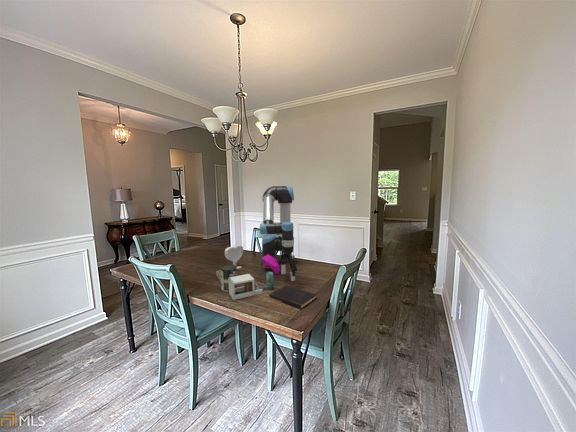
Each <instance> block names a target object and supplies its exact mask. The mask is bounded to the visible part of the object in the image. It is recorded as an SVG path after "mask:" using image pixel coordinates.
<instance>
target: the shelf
mask: <svg viewBox="0 0 576 432" xmlns="http://www.w3.org/2000/svg"><path fill="white" fill-rule="evenodd" d="M228 281H229V292H228V294H229V295H230V297H231V299H232V300H233V301H235V300H239V299H243V298H244V299H245V298H248V297H252V296H257V295H261V294H262V295H263V294H264V293H263V291H264V290H263V289H259V290H255V285H254V282H255V278H254V277H253V276H252V275H251V274H250V273H247V274H241V275H238V276H234V277H229V278H228ZM251 281H252V290H253V291H250V292H244V285H243V286H237V287H238V288H234V285H235V284H237V285H239V284H244V283H245V282H251ZM257 288H259V287H258V286H257ZM236 293H237V294H236Z"/></svg>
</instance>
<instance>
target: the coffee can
mask: <svg viewBox="0 0 576 432" xmlns="http://www.w3.org/2000/svg"><path fill="white" fill-rule="evenodd" d="M237 266H238V265H237V264H236V265H233V264H225V265H222V266H221V267H220V268H219V269H220V270H221V275H220V276H221V282H220V285H221V287H220V288H221V291H222V292H226V293H229V281H228V278H229V277H234V276H237V275H238V269H237ZM220 270H219V271H220ZM238 287H239V286H238V284H235V285H234V288H238Z"/></svg>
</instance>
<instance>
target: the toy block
mask: <svg viewBox="0 0 576 432" xmlns="http://www.w3.org/2000/svg"><path fill="white" fill-rule="evenodd" d="M261 258H262V257H261ZM262 262H263V265H262V266H263V267H265V268H266V267H270V268H271V270H272V272H273V274H274V273H275V275H277V274H279V273H280V265H279V262H278V263H277V260H276V259H275V258H273V257H272V256H270V255H269V254H267V255H266V256H264V257H263V258H262ZM267 265H269V266H267Z"/></svg>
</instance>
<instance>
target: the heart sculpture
mask: <svg viewBox="0 0 576 432" xmlns="http://www.w3.org/2000/svg"><path fill="white" fill-rule="evenodd" d="M243 253H244V247H243V246H242V245H237V244H236V245H233V246H228V247H226V248H225V250H224V256H225V258H226V259H227V260H229V261H231V262H232V265H236V266H237V270H238V269H241V268H242V266H241V265H240V266H238V265H237V262H239V260H241V258H242V256H243Z"/></svg>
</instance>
